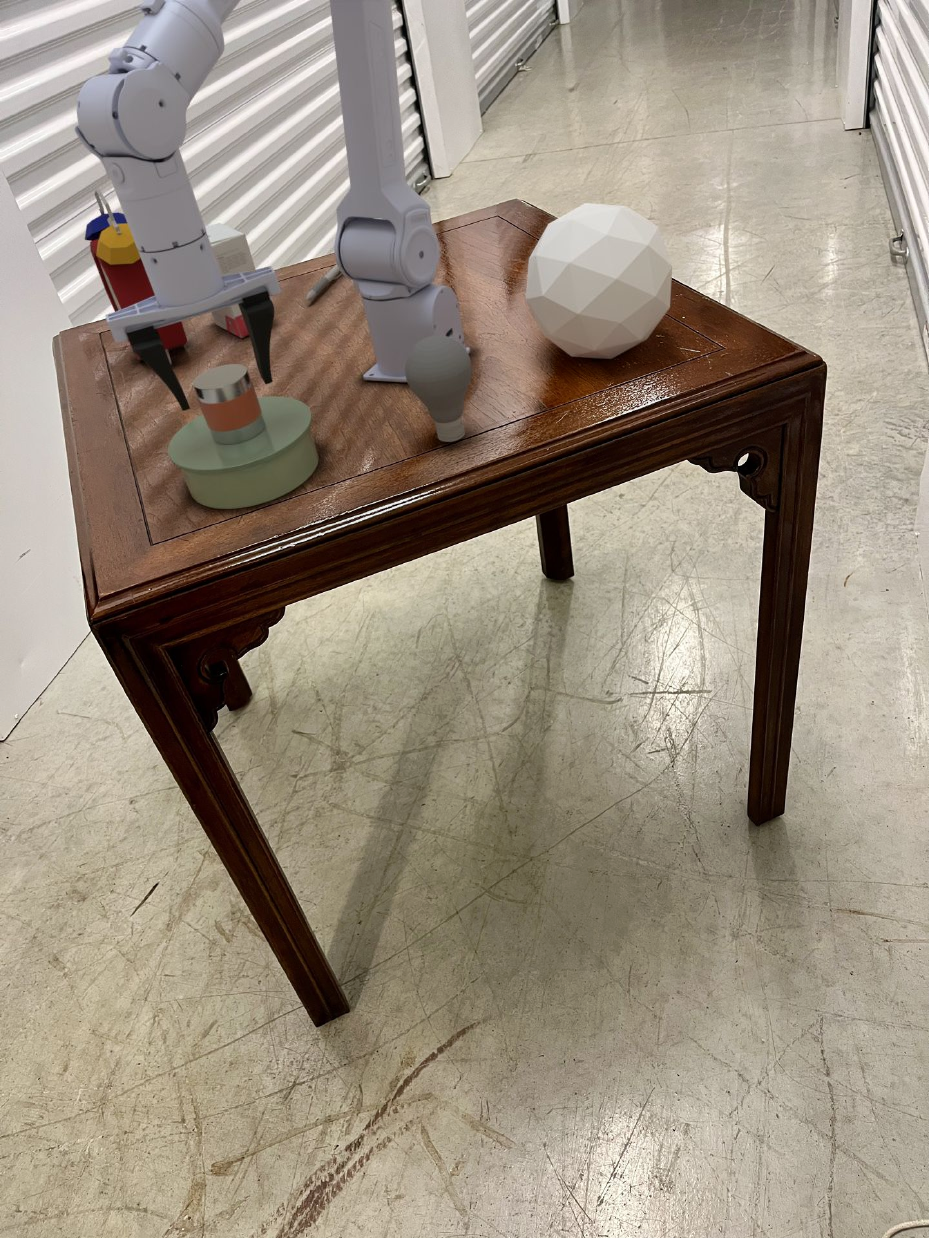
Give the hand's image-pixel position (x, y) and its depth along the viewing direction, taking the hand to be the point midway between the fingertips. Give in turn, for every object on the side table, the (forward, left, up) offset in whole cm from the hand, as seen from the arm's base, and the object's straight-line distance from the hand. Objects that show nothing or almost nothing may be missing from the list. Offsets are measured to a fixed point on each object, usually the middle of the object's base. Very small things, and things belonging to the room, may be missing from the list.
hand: (226, 392), depth 85 cm
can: (0, 0, -4) cm, 4 cm away
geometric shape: (-25, -29, -9) cm, 39 cm away
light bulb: (-17, -9, -9) cm, 21 cm away
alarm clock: (+31, -24, -9) cm, 40 cm away
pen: (+20, -45, -9) cm, 50 cm away
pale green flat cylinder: (0, 0, -8) cm, 8 cm away
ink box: (+25, -32, -9) cm, 41 cm away
